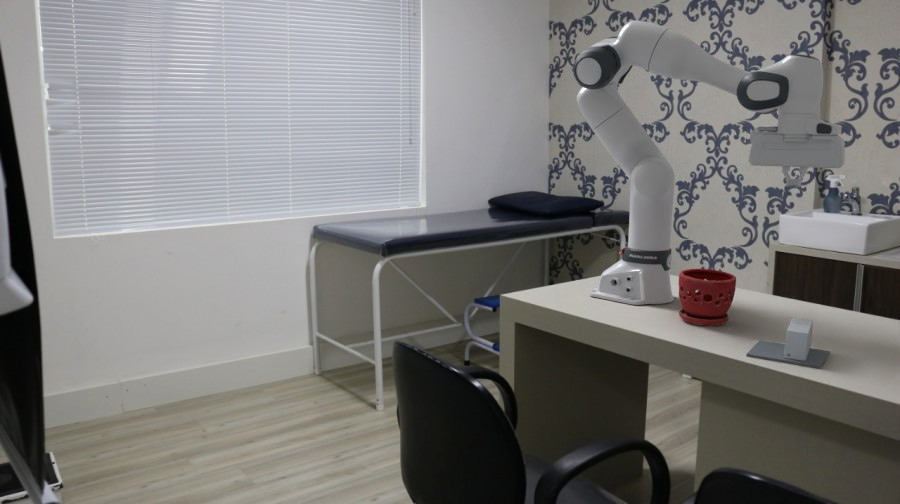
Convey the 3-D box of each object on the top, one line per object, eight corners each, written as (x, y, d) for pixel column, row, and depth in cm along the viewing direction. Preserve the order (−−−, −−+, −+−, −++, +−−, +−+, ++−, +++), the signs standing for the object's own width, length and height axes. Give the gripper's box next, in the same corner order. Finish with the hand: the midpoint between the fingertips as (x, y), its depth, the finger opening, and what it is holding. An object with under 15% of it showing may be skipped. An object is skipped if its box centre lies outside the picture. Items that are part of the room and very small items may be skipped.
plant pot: (669, 323, 179) (671, 274, 177) (686, 312, 190) (688, 266, 188) (724, 332, 172) (728, 281, 170) (739, 319, 183) (742, 272, 180)
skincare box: (811, 346, 159) (805, 362, 149) (789, 343, 161) (782, 358, 151) (814, 318, 158) (808, 333, 148) (792, 316, 160) (785, 330, 150)
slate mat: (746, 356, 154) (746, 353, 154) (759, 342, 164) (759, 340, 164) (820, 368, 146) (820, 366, 146) (829, 353, 156) (829, 351, 156)
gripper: (747, 126, 174) (743, 185, 177) (845, 127, 163) (839, 189, 165) (754, 126, 180) (750, 183, 182) (849, 126, 168) (843, 187, 170)
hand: (793, 186), depth 174 cm, fingers closed
